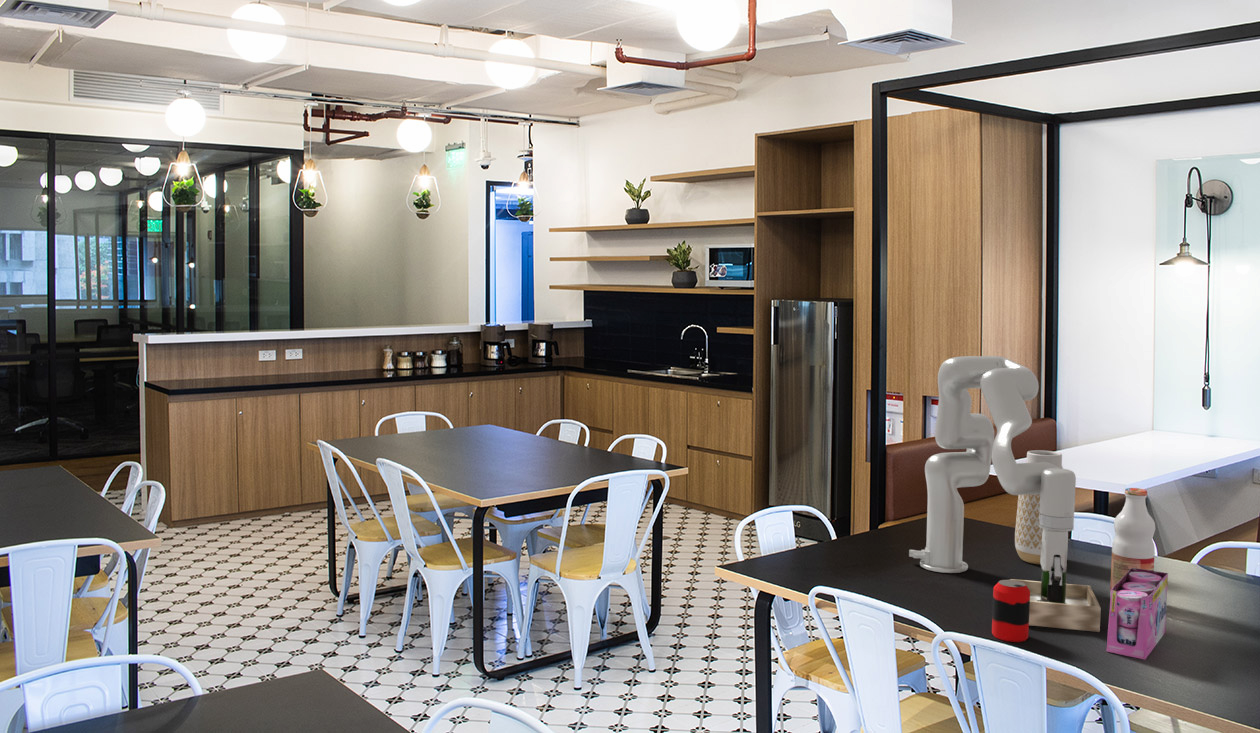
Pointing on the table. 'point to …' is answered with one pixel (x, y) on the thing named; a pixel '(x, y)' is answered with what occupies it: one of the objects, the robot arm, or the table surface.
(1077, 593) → the crate
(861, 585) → the table surface
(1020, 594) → the soda can
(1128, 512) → the fruit juice
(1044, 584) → the beer can
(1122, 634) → the gum box
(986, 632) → the table surface
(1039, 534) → the vase
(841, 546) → the table surface
